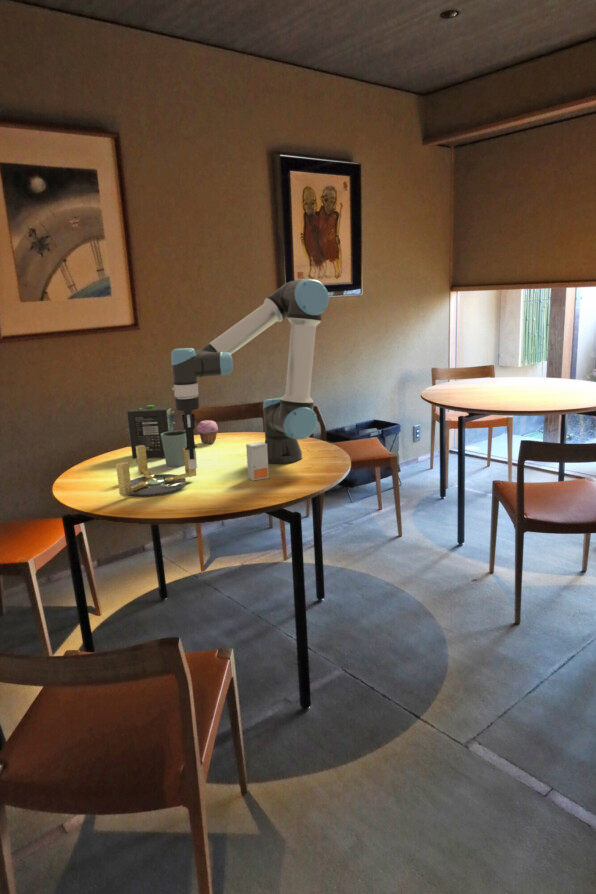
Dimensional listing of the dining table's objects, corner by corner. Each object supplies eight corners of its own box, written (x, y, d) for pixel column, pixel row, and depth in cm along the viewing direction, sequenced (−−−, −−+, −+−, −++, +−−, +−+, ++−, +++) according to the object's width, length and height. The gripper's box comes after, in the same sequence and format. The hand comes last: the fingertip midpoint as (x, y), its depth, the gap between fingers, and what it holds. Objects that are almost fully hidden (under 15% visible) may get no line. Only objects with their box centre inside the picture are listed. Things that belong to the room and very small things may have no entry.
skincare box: (252, 481, 202) (250, 446, 199) (247, 478, 206) (245, 443, 203) (269, 478, 205) (267, 443, 202) (264, 475, 208) (262, 441, 205)
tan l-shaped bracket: (168, 482, 198) (165, 454, 196) (164, 481, 200) (161, 452, 198) (196, 475, 205) (194, 447, 203) (192, 474, 207) (189, 446, 205)
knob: (155, 478, 204) (152, 450, 202) (147, 480, 203) (144, 452, 200) (146, 471, 213) (143, 444, 211) (138, 473, 212) (135, 446, 210)
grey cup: (182, 468, 223) (178, 436, 220) (158, 466, 226) (155, 435, 223) (195, 461, 232) (193, 430, 229) (172, 459, 235) (169, 429, 233)
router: (174, 457, 240) (169, 406, 235) (129, 459, 240) (123, 409, 235) (179, 452, 247) (174, 403, 243) (134, 454, 248) (129, 405, 243)
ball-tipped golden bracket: (143, 484, 198) (140, 455, 196) (150, 485, 197) (147, 456, 194) (119, 494, 189) (115, 464, 187) (126, 495, 188) (122, 464, 185)
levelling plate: (198, 481, 204) (197, 474, 204) (157, 499, 187) (156, 492, 187) (153, 476, 214) (153, 469, 213) (110, 492, 197) (109, 485, 197)
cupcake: (194, 443, 261) (192, 420, 259) (211, 439, 267) (209, 417, 264) (206, 446, 255) (204, 423, 252) (223, 442, 260) (221, 419, 258)
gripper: (175, 395, 201) (181, 464, 206) (174, 400, 188) (181, 474, 194) (197, 393, 202) (203, 462, 207) (199, 399, 189) (205, 472, 195)
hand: (192, 468), depth 200 cm, fingers closed
